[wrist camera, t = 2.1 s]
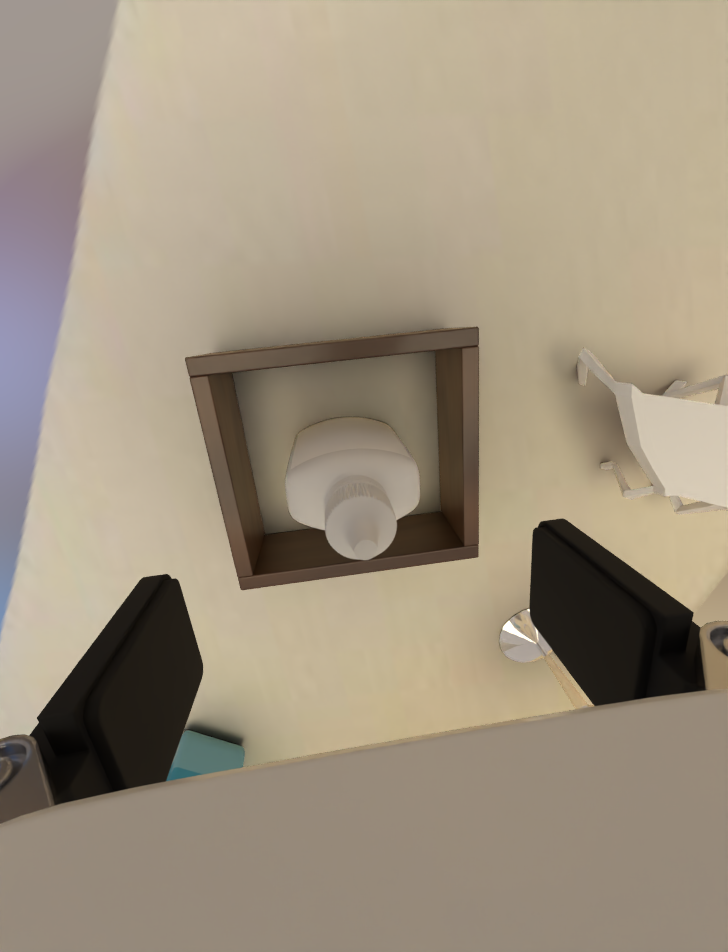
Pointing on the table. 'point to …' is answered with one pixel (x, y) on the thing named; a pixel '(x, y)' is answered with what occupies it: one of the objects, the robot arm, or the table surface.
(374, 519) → the eye dropper bottle
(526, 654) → the wineglass
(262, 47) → the table surface
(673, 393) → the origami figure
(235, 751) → the data package
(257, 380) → the table surface
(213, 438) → the square wooden box frame
